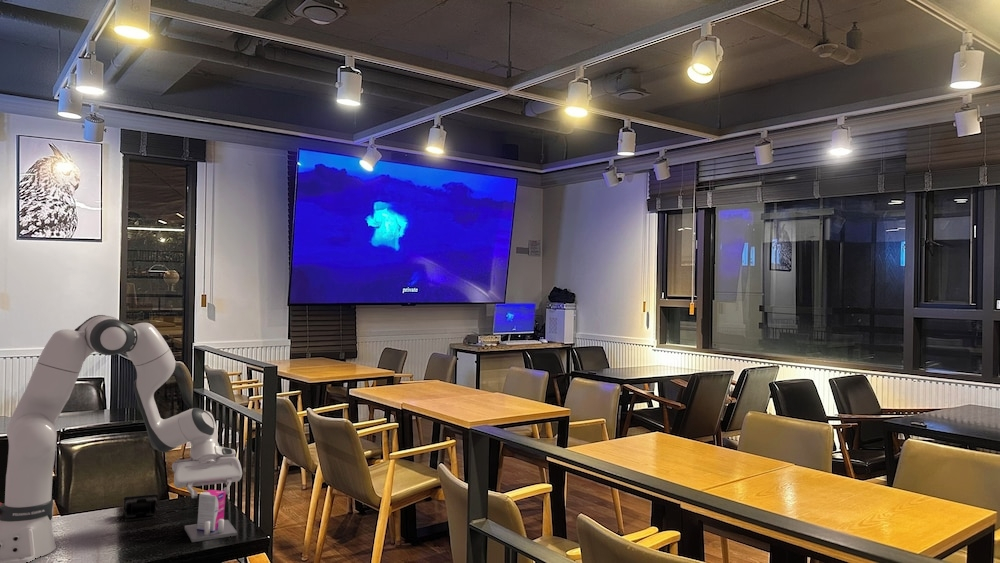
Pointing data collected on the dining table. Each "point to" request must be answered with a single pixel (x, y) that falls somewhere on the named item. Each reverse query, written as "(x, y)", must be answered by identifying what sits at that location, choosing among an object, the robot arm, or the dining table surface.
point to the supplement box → (211, 509)
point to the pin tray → (223, 531)
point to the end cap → (140, 507)
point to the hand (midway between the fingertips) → (210, 495)
